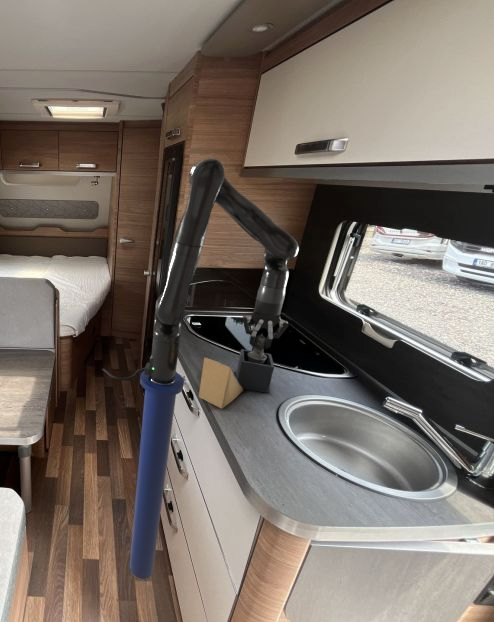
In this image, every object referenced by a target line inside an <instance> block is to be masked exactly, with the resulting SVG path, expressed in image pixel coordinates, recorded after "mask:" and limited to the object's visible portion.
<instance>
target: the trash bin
mask: <svg viewBox="0 0 494 622" xmlns="http://www.w3.org/2000/svg"><path fill="white" fill-rule="evenodd" d="M252 351H253V350H249V349H243V348H241V349H240V352H239V358H238V362H237V366H236V372H235V377H236V379H237V380H238V382H239V384H240V385H241V387H242V388H243V389H246V390H251V391H256V392H261V393H266V394H268V393H269V390H270V385H271V382H272V378H273V374H274V370H275V365H274V361H273V357H272V354H271V353H266V352H263V354H264V355H265V356H266V357H267V359H266V360H265V361H264V362H263V363H262V364H258V363H253V362H247V361H250V360H249V358H248V353H249V352H252Z"/></svg>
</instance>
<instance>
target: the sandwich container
mask: <svg viewBox="0 0 494 622" xmlns="http://www.w3.org/2000/svg"><path fill="white" fill-rule="evenodd" d="M201 371H202V372H201V376H200V377H201V378H200V385H199V390H198V391H199V392H198V398H200V399H202V400H203V401H205V402H207V403H209V404H211V405H213V406H215V407H218V408H219V409H222V410H223V409H224V408H225V407H226V406H228V405H229V404H230V403H231V402H233V401H234V400H235V399H236V398H237V397H238V396H239V395H240V394H241V393H242V392H244V388H242V387H241V385H240V384H239V382H238V380H237V379H236V375H235V373H234V372H233V370H232V368H231V367H230V366H228V365H226V364H223V363H221V362H219V361H217V360H214V359H211V358H209V357H204V358H203V366H202V370H201Z"/></svg>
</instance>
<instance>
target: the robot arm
mask: <svg viewBox="0 0 494 622" xmlns="http://www.w3.org/2000/svg"><path fill="white" fill-rule="evenodd" d="M188 182H189V192H188V197H187V203H186V207H185V210H184V212H183V214H182V216H181V219H180V221H179V223H178V226H177V229H176V230H175V233H174V236H173V239H172V244H171V248H170V251H169V257H168V264H167V274H166V282H165V286H164V289H163V291H162V294H160V295H159V296H158V297H157V299H156V302H155V310H154V322H153V335H152V336H153V337H152V345H151V355H150V357H149V362H146V364H145V367H143V368H139V369H137V370H136V371H135V372H134V374H131V376H128V377H120V376H119V377H118V376H114V375H113V374H112V373H110V372H109V371H108V370H107V369H105V368H102V371H103V372H105V373H106V374H107V375H108V376H109V377H110V378H112V379H113V380H118V381H128V380H131V379H133V378H135V377H137V375H138V373H140V372H143V371H144V370H145V371H144V375H148V380H150V381H152V382H153V383H155V384H157V385H162V386H168V385H172V384H173V383H174V382H175V376H176V373H178V372H177V366H178V358H179V351H180V342H181V335H182V319H183V317H184V315H185V311H186V305H187V299H188V295H189V290H190V286H191V283H192V281H193V278H194V275H195V274H196V271H197V267H198V264H199V262H200V261H199V260H200V258H201V255H202V252H203V248H204V245H205V241H206V237H207V233H208V229H209V223H210V218H211V214H212V212H213V209H214V205H215V204H217V205H218V207H220V208H221V209H222V210H223V211H224V212H225V213H226V214H228V216H229V217H230V218H231V219H232V220H233V221H234V222H235V223H236V224H237V225H238V226H239V227H240V228H241V229H242V230H243V231H245V232H246V234H248V235H249V236H250V237H251V238H252V239H253V240H255V241H257V242H258V243H259V244H261V245H262V247H264V250H263V251H264V253H263V271H262V276H261V280H260V285H259V287H258V290H257V294H256V298H255V299H256V300H255V303H254V308H253V312H252V313H251V314H248V315H246V314H244V315H242V322H243V326H244V330H245V334H246V335H249V336H250V337H249V345H250V347H253V348H254V344H255V341H256V337H257V333H258V332H259V330H260V329H265V330H267V336H266V341H265V345H264V346H265V348H264V350H265V349H266V350H268V349H269V348H271V346H272V342H273V339H280V337H281V336H282V335H283V334H284V332H285V331H286V330H287V329H288V327H289V326H290V325H289V321H288V320H284V319H281V312H282V308H283V304H284V301H285V296H286V289H287V283H288V280H289V275H290V271H289V268H288V264H287V263H288V261H290V260H291V261H292V260H293V259H294V258H295V257H296V256H298V253H299V251H300V246H299V243H298V241H297V240H296V239H295V238H294V237H293V236H292V235H291V234H290V233H288V232H287V231H285V230H284V229H283V228H282V227H281V226H279V225H278V224H277V223H276V222H275V221H274V220H273V218H271V216H269V215H268V214H267V213H266V212H265V211H264V210H263V209H262V208H260V207H259V206H258V205H257V204H256V203H254V202H253V201H252V200H251V199H249V198H248V197H246V196H245V195H244V194H242V193H241V192H240V191H239V190H238V189H236V187H234V186H233V185H232V183H230V181H229V180H228V179H227V177H226V170H225V166H224V164H223V163H222V162H221V161H220V160H219V159H217V158H215V157H208V158H204V159H203V158H202V159H201V160H199V161H197V162H196V163H194V164H193V165H192V167H191V168H190V171H189V173H188ZM251 320H252V322H253V323H254V324H253V327H252V329H251V328H250V326H249V323H251ZM278 324H279V325H278ZM277 325H278V326H279V327H278V328H277V329H276V331H275V332H274V329H273V328H274V327H275V326H277Z"/></svg>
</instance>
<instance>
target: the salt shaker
mask: <svg viewBox="0 0 494 622" xmlns="http://www.w3.org/2000/svg"><path fill="white" fill-rule="evenodd" d="M266 339H267V337H266V336H264V334H263V333H261V334H260V335H256V338H255V343H254V347H253V349H252V350H251V351H252V352H249V353H248V358H249V360H250V361H247V362H253V363H258V364H262V363H263V362H264V361H265V360H266V359H267V357H266V356H265V355H264V354H263V353H264V350H265V343H266Z"/></svg>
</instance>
